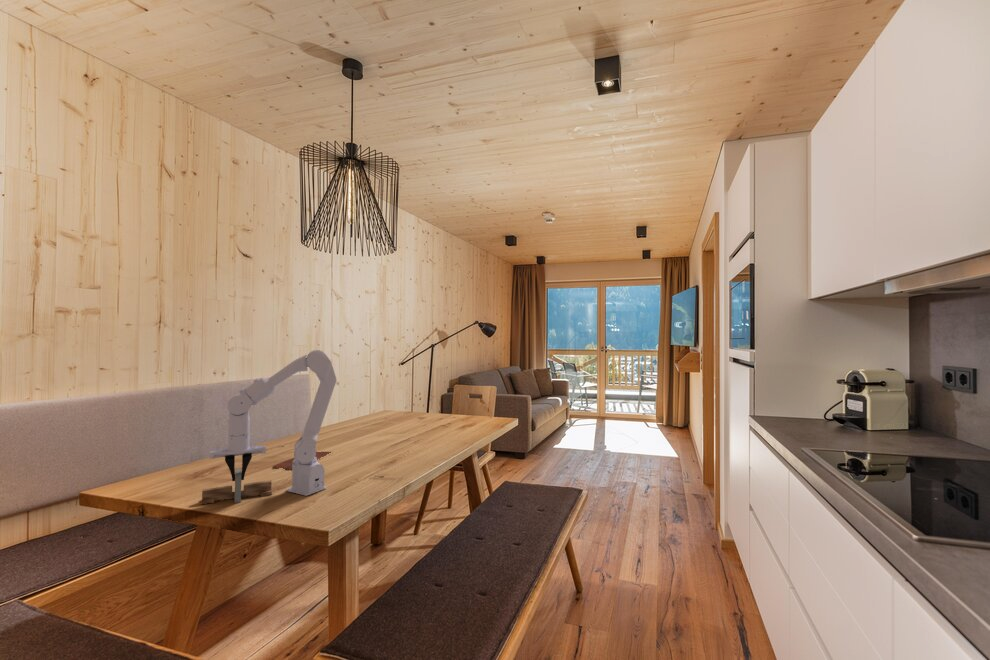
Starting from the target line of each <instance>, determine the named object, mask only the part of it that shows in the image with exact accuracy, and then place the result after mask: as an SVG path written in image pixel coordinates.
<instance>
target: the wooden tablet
mask: <svg viewBox="0 0 990 660" xmlns="http://www.w3.org/2000/svg"><path fill="white" fill-rule="evenodd" d="M331 452H332V451H321V452H317V451H316V455H315V457H317V461H319V460H321V459H320V458H321V457H324V456H326V455H327V454H329V453H331ZM326 457H327V456H326ZM324 458H325V457H324ZM294 459H295V458H294V457H292V458H290V459H287V460H283V461H281V462H279V463H277V464H274V465H272V469H273V468H274V469H275V470H280V469H279V468H283V469H285V470H284V471H289V470H292V463H293V462H292V461H293V460H294ZM318 459H319V460H318ZM274 469H273V470H274ZM283 469H282V470H283Z"/></svg>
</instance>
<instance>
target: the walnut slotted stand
mask: <svg viewBox="0 0 990 660" xmlns="http://www.w3.org/2000/svg"><path fill="white" fill-rule="evenodd" d="M272 483H273V482H272V480H271V479H270V480H264V481H262V480H261V481H256V482H250V483H249V482H248V483H243V490H241V498H245V497H246V498H247V496H248V497H253V496H260V497H266V496H272V495H273V493H272V485H273V484H272ZM201 491H202V492H201V505H202V504H205V505H208V504H207V503H212V504H214V503H215V502H218V501H217V500H220V501H225V500H224V499H227V500H233V499H232V498H234V499H235V491H233V485H225V486H219V487H218V486H217V487H209V488H202V490H201Z"/></svg>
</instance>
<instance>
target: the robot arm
mask: <svg viewBox="0 0 990 660" xmlns="http://www.w3.org/2000/svg"><path fill="white" fill-rule="evenodd" d="M332 363H333V362H332V360H331V359H330V358H329V356H328V355H327V354H326V353H325V352H323V350H319V349H314V350H312V351H310V352H308V354H307V353H306V354H303V355H302V356H299V357H298V358H296V359H294V360H293V361H291V362H290V363H289V364H287V365H286V366H284V367H282V369H280V370H278V371H277V372H276V373H274V374H273V375H271V376H270V377H269V378H268V377H260V378H259V379H258V378H256V379H253V383H252V384H250V385H249V386H247V387H246V388H243V389H242V388H241V389H240V390H239V391H238V393H237V394H234V395H233V396H231V398H230V399H229V400H228V402H227V406H226V407H227V410H228V420H227V448H223V449H217V450H211V451H209V460H213V459H214V460H215V459H218V458H224V461H225V464H226V465H227V467H228V470H229V472H230V475H231V481H232V482H235V466H236V465H235V464H236V463H235V461H236V460H235V459H236V457H237V456H241V457H242V458H241V459H242V461H241V481H244V480H245V476H246V472H247V468H248V466H249V464H250V462H251V461H252V458H253V455H257V454H266V453H267V452H266V451H267V446H266V445H255V446H254V445H252V446H250V444H251V443H250V437H251V434H250V433H251V430H250V429H251V418H250V408H251V407H252V406H256V405H257V404H259V403H260V402H262V401H263V400H265V399H267V398H268V397H269V396H270V395H272V394H273V393H274V392H275V387H276V386H278V385H279V384H281V383H282V382H284V381H285V380H288V379H289V378H290V377H292V376H293V375H295V374H297V373H298V372H299V373H300V372H308V369H310V370H311V371H312V372H314V374H316V375H315V376H316V377H317V378H318V380H319V381H320V382H319V384H318V388H317V390H316V392H315V396H314V400H313V403H312V405H311V408H310V411H309V413H308V417H307V420H306V422H305V425H304V428H303V430H302V433H301V436H300V437H299V439H297V441H296V442H295V444H294V447H293V448H294V450H293V458H295V459H294V460H293V461H292V462H293V463H292V474H291V476H292V477H291V487H287V488H286V489H285V492H288V493H293V494H297V495H302V496H306V497H307V496H310V495H312V494H315V493H317V492H321V491H323V490H325V489H327V486H325V467H324V466H323V464H321V463H319V462H318V461H319V460H317V457H315V455H316V452H317V448H316V446H317V445H316V444H317V441H318V438H319V432H320V430H321V427H322V424H323V422H324V419H325V415H326V412H327V410H328V406H329V403H330V400H331V397H332V395H333V392H334V388H335V386H336V384H337V376H336V373H335V370H334V367H333V364H332Z"/></svg>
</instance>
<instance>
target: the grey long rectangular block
mask: <svg viewBox="0 0 990 660" xmlns="http://www.w3.org/2000/svg"><path fill="white" fill-rule="evenodd" d="M241 473H242V468H236V469H235V481H234V492H235V498H234V504H237V502H238V503H241V502H242V497H241V491H242V480H241Z"/></svg>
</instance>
